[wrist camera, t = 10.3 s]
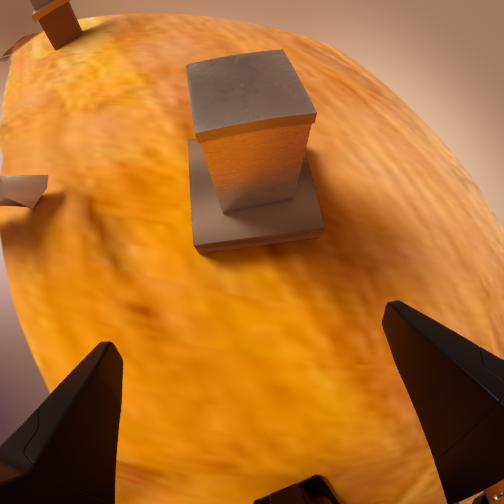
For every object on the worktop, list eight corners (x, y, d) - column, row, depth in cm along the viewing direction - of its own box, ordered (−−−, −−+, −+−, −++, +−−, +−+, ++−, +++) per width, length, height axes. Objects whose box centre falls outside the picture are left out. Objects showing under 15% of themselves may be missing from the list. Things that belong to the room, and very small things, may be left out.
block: (316, 240, 24) (324, 228, 21) (200, 255, 24) (193, 245, 21) (294, 146, 27) (297, 127, 24) (194, 158, 26) (188, 140, 23)
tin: (295, 199, 22) (316, 112, 12) (221, 215, 21) (194, 133, 12) (276, 141, 23) (282, 49, 13) (210, 154, 23) (185, 64, 13)
